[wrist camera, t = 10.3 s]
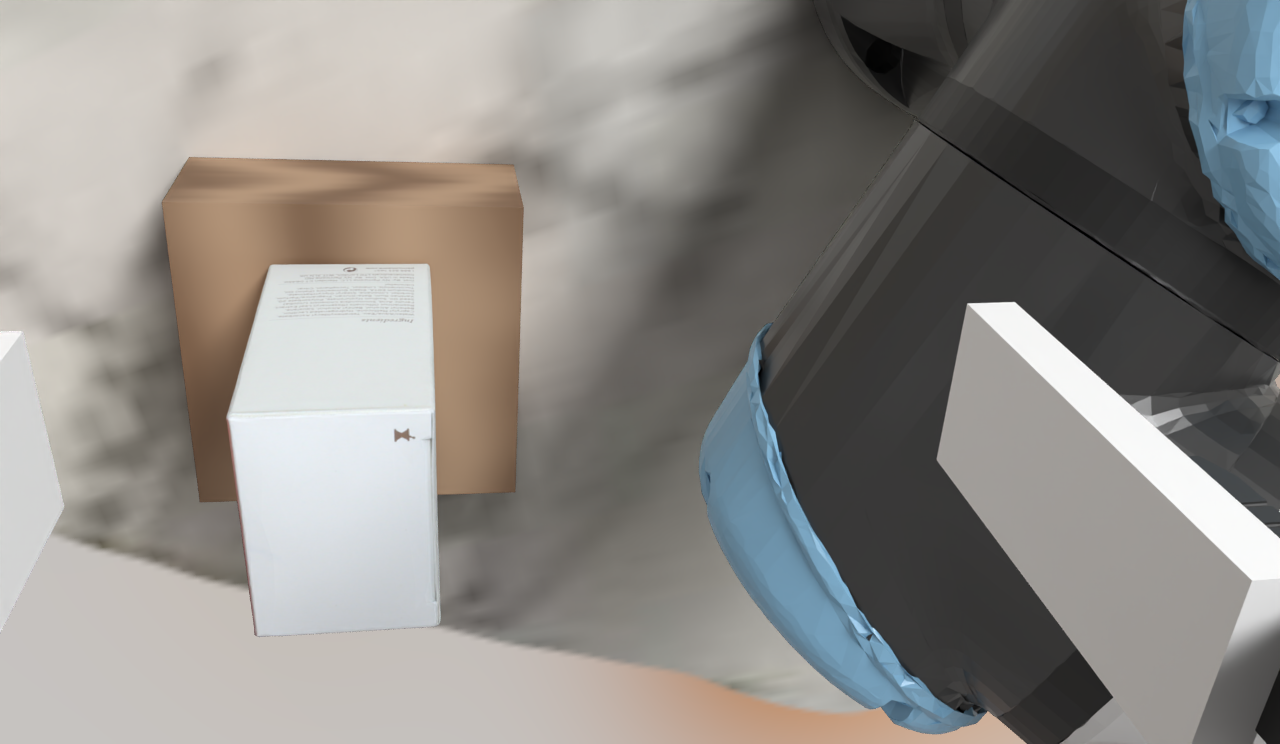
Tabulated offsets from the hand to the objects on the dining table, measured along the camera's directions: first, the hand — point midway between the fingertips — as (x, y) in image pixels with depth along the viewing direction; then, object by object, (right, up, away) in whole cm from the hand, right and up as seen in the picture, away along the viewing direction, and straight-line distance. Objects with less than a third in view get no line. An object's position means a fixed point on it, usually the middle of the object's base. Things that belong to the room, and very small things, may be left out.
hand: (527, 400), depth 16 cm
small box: (-9, +1, +25) cm, 27 cm away
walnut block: (-10, +3, +29) cm, 31 cm away
